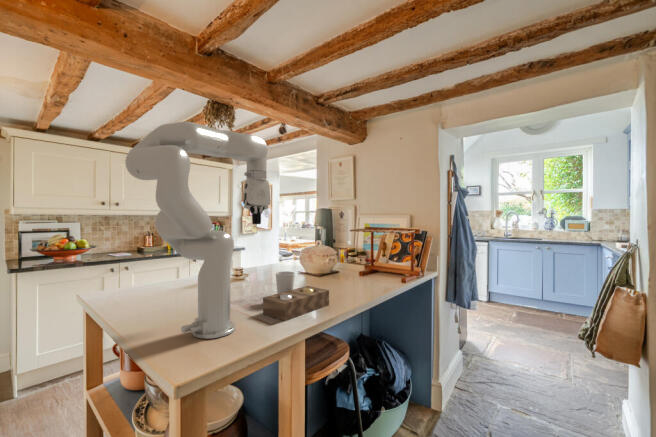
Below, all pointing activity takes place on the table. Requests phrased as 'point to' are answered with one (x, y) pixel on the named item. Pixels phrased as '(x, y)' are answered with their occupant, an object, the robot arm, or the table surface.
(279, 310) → the walnut block
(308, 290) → the brass peg
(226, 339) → the table surface
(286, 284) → the cup
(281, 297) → the steel peg
